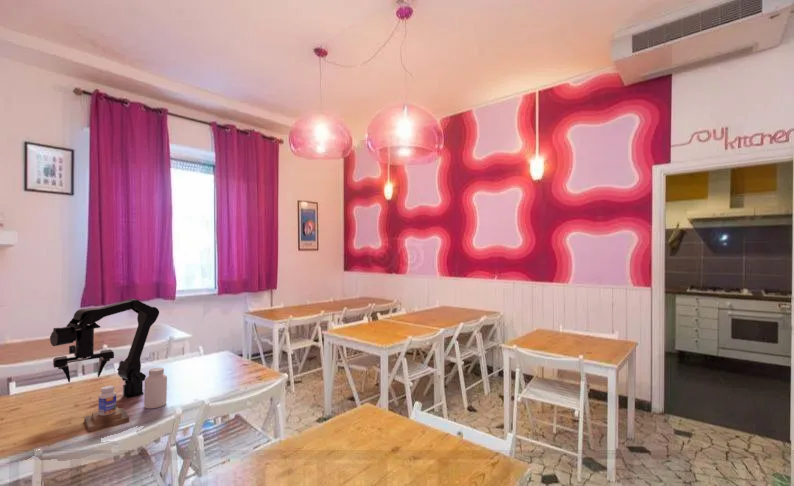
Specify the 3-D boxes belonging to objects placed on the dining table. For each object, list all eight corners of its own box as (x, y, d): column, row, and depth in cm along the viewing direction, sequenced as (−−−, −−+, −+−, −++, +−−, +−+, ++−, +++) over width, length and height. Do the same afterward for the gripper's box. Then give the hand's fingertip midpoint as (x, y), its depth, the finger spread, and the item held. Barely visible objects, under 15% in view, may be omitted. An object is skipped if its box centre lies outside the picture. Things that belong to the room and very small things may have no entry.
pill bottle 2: (170, 403, 163) (171, 367, 163) (151, 410, 155) (152, 373, 155) (158, 400, 166) (159, 365, 166) (139, 407, 159) (140, 370, 159)
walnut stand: (122, 411, 154) (122, 403, 154) (129, 421, 146) (129, 413, 146) (84, 420, 146) (84, 412, 146) (88, 431, 137) (88, 423, 137)
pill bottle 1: (106, 416, 143) (107, 390, 143) (94, 415, 144) (95, 389, 144) (119, 410, 148) (120, 385, 148) (108, 409, 149) (108, 384, 149)
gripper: (109, 333, 168) (109, 369, 167) (52, 340, 154) (51, 379, 154) (114, 338, 160) (113, 375, 159) (54, 346, 146) (53, 387, 146)
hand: (84, 379), depth 155 cm, fingers open, 9 cm apart
